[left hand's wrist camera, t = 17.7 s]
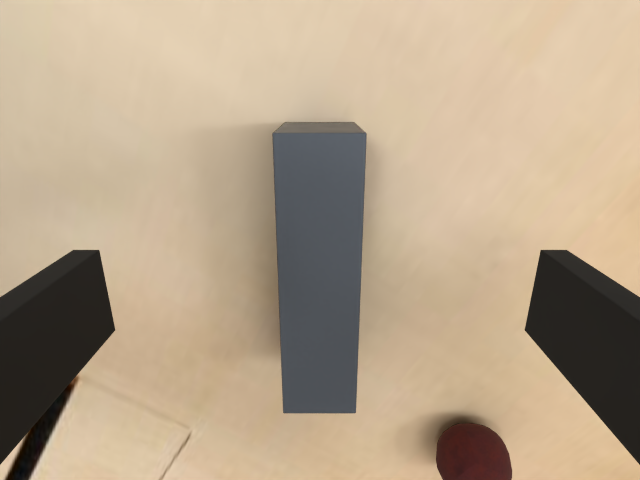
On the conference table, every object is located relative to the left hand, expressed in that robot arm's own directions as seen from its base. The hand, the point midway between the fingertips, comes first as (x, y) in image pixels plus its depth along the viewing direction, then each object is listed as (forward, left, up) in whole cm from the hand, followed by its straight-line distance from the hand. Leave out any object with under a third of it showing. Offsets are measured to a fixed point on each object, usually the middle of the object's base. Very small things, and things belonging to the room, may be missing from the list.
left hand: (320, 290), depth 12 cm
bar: (+7, -3, -24) cm, 26 cm away
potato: (+34, +3, -24) cm, 42 cm away
